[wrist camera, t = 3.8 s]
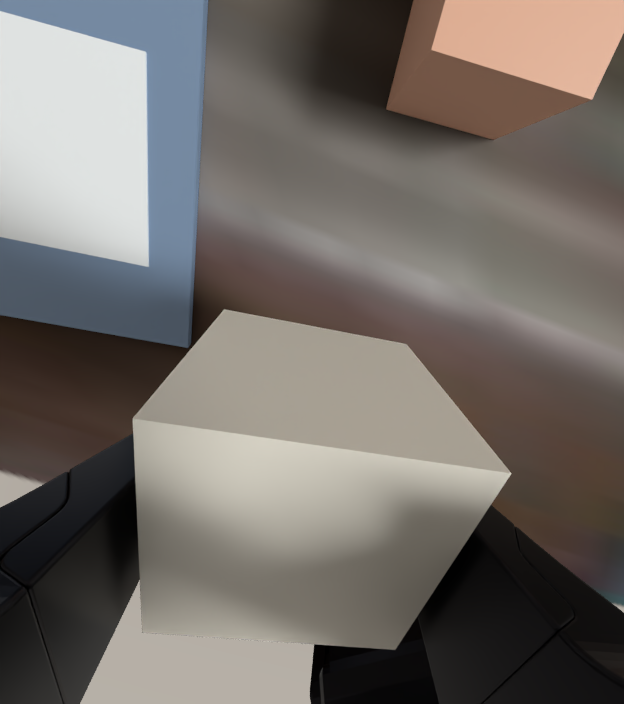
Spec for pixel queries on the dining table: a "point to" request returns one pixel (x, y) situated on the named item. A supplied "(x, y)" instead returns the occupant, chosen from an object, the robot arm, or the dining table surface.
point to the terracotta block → (502, 60)
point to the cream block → (301, 487)
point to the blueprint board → (101, 163)
